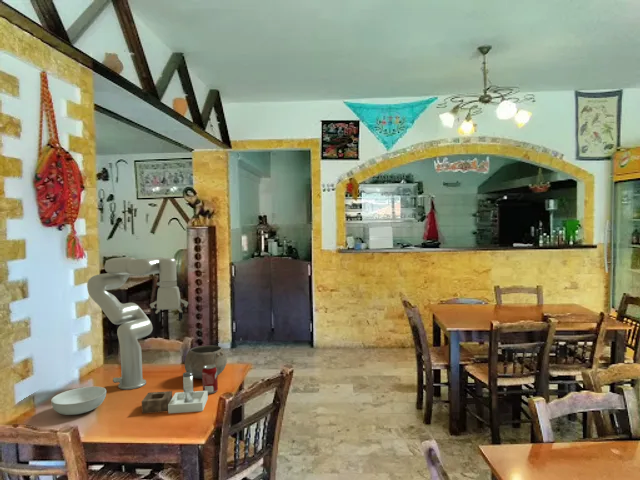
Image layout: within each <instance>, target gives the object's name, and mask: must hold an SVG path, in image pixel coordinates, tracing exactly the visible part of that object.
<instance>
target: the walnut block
mask: <svg viewBox="0 0 640 480" xmlns="http://www.w3.org/2000/svg"><path fill="white" fill-rule="evenodd" d="M172 398H173V391H172V390H169V391H168V390H167V391H157V392H156V391H153V392H152V391H151V392H148V393H147V394H146V395H145V397H144V398H143V399H142V401H141V414H149V413H150V414H152V413H168V404H169V402H170V401H171V399H172Z"/></svg>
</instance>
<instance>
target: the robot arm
mask: <svg viewBox="0 0 640 480" xmlns="http://www.w3.org/2000/svg"><path fill="white" fill-rule="evenodd" d="M104 270H105V272H106V273H105V272H104V273H99V274H96V275H93V276H91V277H89V279H88V281H87V284H86V287H87V292H88V295H89V296H90V298H91V299H92V301H94V302H95V303H96V304H97V305H98V306H99V308H100V309H101V310H102V312H103V313H104V314H105V316H106V317H107V318H108V320H109V321H110V322H111V323H112V324H114V325H119V326H118V328H117V331H116V332H117V333H116V334H117V338H118V343H119V353H120V355H119V356H120V370H121V373H120V374H121V376H120V377H113V378H112V382H113V384H114V383H115V384H116V383H118V385H117V388H118V389H120V390H127V391H128V390H134V389H139V388H142V387H144V386H146V385H147V380H146V379H144V378H143V358H142V357H143V356H142V355H143V353H142V347H141V343H140V342H139V339H143V338H145V337H147V336H149V335H151V334H152V332H153V329H154V327H153V324H152V321H151V320H150V318H149V317H148V316H147V314H146V313H145V312H144V310H143V309H142V308H141V307H140V306H139V305H138V304H137V303H135V302H126V303H123V302H120V300H119V299H118V298H117V297H116V296H115V294H112V293H111V292H109V291H110V290H115V289H119V288H121V287H122V286H123V285H124V284H125V283H126V282H127V280H128V279H129V277H131V276H146V275H147V276H149V275H155V274H159V282H156V286H159V287H158V289H157V294H156V300H155V301H154V302H152V303H150V304H149V307H150V309H151V310H152V311H153V312H154V313H155V315H156V316H155V319H156V321H157V323H160V322H161V321H162V318H161V317H162V313H161V311H163V310H177V311H179V312H178V321H179V322H181V321H182V320H183V319H184V315H183V313H184V312H185V311H184V310H186V308H187V307H188V305H189V302H188V301H186V300H184V299H182V298H181V293H180V288H179V286H178V282H177V281H178V280H177V279H178V278H177V261H176V258H174V257H165V258H164V257H149V258H135V257H129V256H123V257H114V258H109V259H108V260H107V261H105V263H104ZM182 304H183V307H182V306H181V305H182ZM155 305H156V307H155Z"/></svg>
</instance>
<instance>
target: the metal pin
mask: <svg viewBox="0 0 640 480" xmlns="http://www.w3.org/2000/svg"><path fill="white" fill-rule="evenodd" d="M182 376H183V377H182V379H183V380H182V382H183V383H182V385H183V387H182V389H183V392H184V403H190V402H194V397H193V392H194V377H193V372H186V371H185V372H183V373H182Z"/></svg>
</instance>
